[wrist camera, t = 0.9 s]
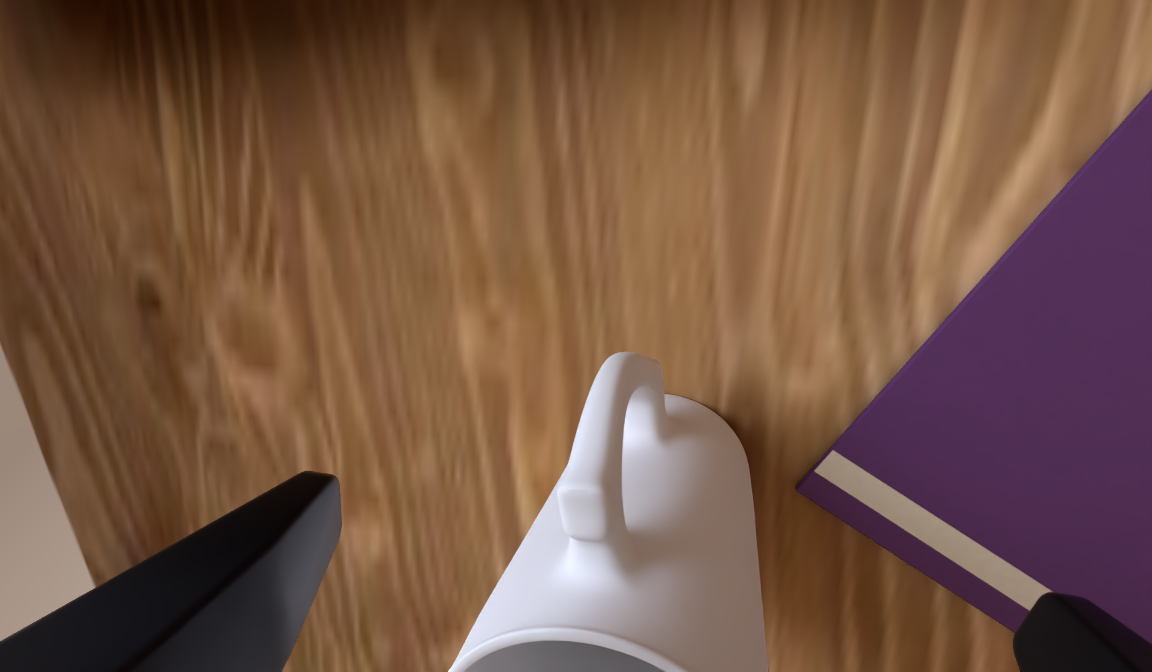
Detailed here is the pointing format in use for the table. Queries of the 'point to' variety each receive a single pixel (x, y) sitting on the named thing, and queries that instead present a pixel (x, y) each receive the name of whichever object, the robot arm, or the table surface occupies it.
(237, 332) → the table surface
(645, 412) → the mug
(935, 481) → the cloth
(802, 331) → the table surface
